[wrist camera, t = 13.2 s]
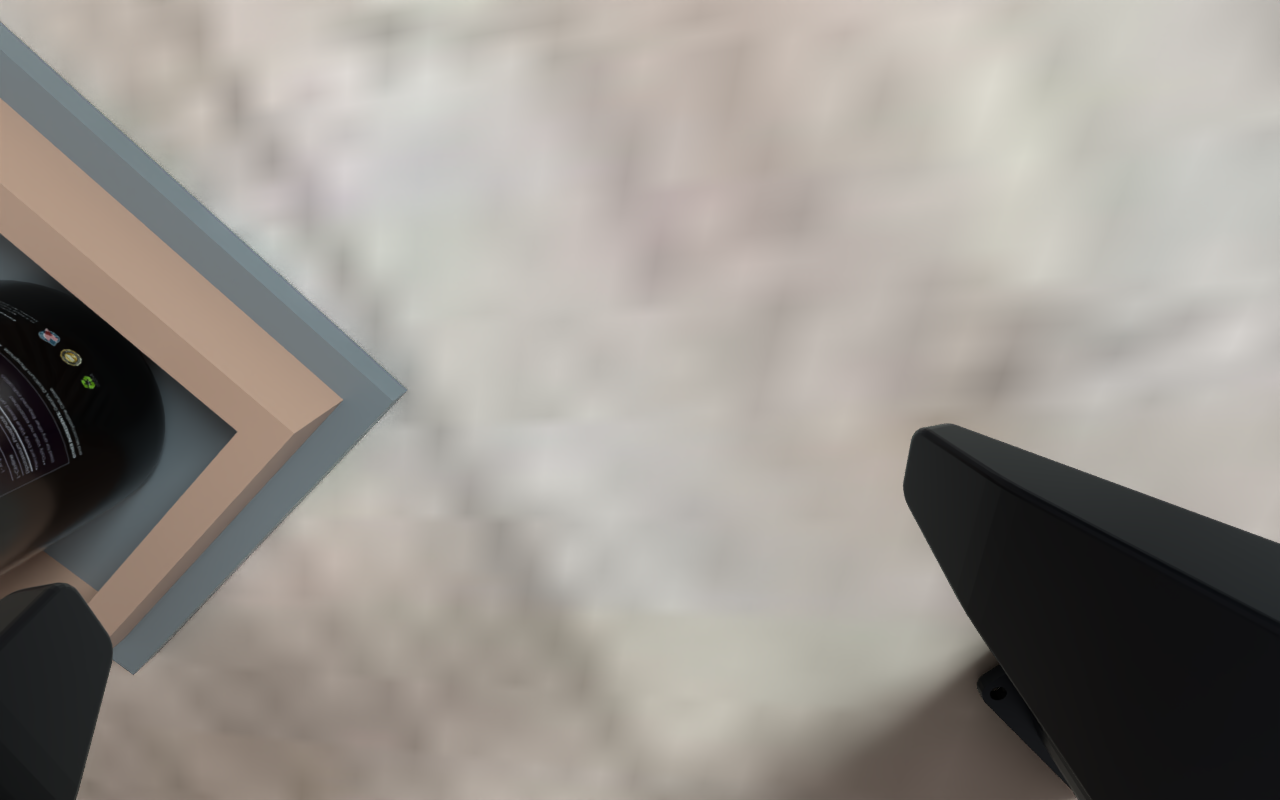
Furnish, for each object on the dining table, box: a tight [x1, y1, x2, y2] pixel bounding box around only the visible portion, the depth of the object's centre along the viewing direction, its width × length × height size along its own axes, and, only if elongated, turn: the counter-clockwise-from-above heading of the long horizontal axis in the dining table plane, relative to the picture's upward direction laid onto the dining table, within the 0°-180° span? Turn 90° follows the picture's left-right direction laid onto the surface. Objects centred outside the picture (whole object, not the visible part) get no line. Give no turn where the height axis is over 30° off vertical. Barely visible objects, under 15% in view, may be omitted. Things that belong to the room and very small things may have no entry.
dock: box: [0, 22, 407, 675], centre depth 18 cm, size 14×14×4 cm
